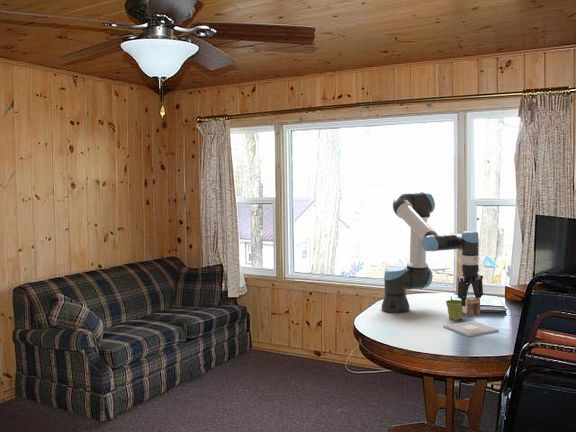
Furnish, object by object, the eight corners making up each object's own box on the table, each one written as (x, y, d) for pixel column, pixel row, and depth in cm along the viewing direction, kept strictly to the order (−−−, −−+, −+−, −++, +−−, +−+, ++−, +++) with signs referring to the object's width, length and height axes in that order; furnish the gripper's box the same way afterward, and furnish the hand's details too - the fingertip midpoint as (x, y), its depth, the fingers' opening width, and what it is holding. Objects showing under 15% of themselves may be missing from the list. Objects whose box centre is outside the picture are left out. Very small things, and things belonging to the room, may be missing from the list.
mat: (442, 327, 278) (442, 325, 278) (471, 322, 286) (471, 320, 286) (468, 336, 262) (468, 334, 262) (498, 331, 269) (498, 329, 269)
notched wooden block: (461, 313, 274) (461, 297, 274) (471, 312, 277) (471, 296, 276) (470, 316, 269) (470, 299, 268) (480, 315, 271) (480, 298, 271)
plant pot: (465, 321, 288) (465, 304, 288) (446, 320, 290) (446, 303, 290) (463, 316, 298) (463, 300, 297) (445, 315, 299) (445, 299, 299)
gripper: (459, 266, 264) (460, 316, 266) (491, 263, 272) (491, 311, 273) (449, 264, 271) (449, 312, 273) (480, 261, 279) (480, 307, 280)
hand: (470, 311), depth 273 cm, fingers closed on notched wooden block, 6 cm apart
